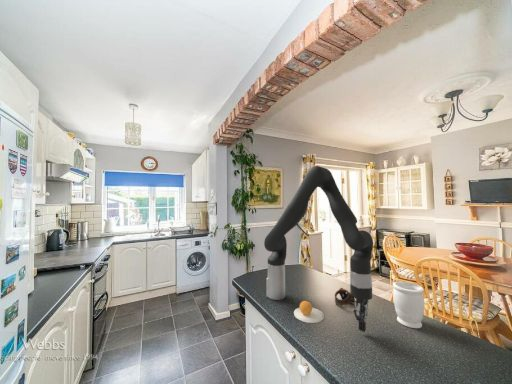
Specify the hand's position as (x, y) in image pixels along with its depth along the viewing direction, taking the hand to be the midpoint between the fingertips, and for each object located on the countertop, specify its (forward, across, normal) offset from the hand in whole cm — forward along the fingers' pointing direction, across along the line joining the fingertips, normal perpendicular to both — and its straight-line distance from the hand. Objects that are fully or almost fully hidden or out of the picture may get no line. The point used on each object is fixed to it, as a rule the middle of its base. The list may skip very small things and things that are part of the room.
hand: (362, 330), depth 78 cm
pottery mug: (+2, -20, -12) cm, 23 cm away
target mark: (+2, 0, -22) cm, 22 cm away
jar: (+2, -20, +13) cm, 24 cm away
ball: (-1, 0, -23) cm, 23 cm away
